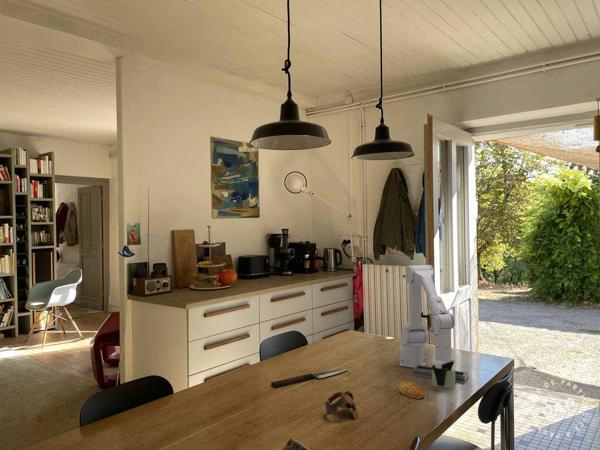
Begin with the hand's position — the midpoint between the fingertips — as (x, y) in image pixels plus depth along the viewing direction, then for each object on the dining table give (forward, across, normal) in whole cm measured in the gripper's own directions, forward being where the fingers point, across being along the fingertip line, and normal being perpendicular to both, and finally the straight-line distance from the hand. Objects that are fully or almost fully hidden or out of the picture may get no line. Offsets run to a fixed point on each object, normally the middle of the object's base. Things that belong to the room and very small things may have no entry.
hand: (443, 382), depth 170 cm
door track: (+1, +10, +4) cm, 11 cm away
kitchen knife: (+2, -17, +46) cm, 49 cm away
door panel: (+2, 0, 0) cm, 2 cm away
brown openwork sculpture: (+2, -41, +21) cm, 46 cm away
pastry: (+2, -13, +8) cm, 15 cm away
